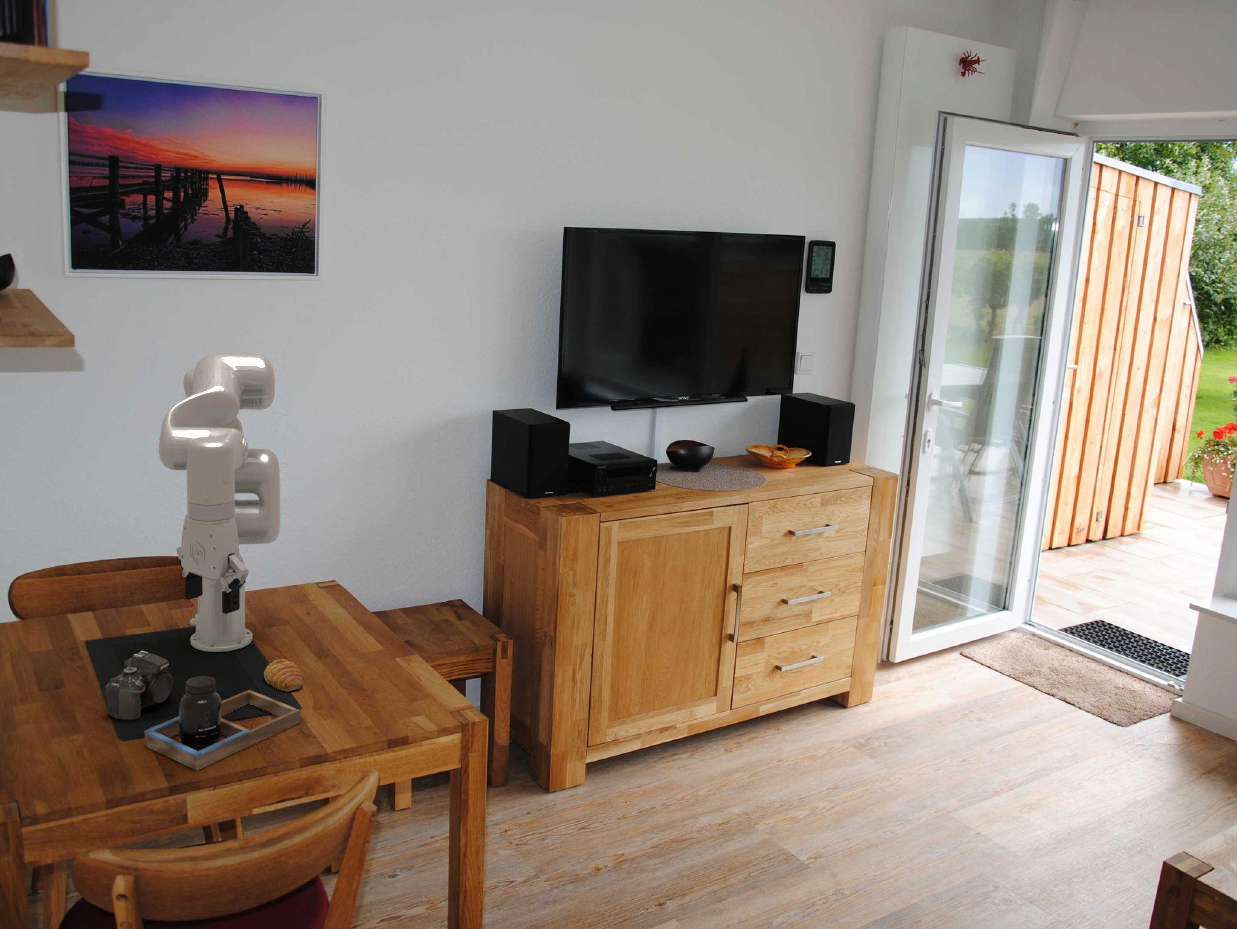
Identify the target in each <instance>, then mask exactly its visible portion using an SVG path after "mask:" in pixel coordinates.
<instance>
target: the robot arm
mask: <svg viewBox="0 0 1237 929" xmlns="http://www.w3.org/2000/svg"><path fill="white" fill-rule="evenodd" d="M275 377H276V376H275V372H274V368H273V365H272V363H271V361H269V360H268V358H267V357H265V356H263V355H259V354H251V353H250V354H249V353H248V354H244V353H243V354H242V353H211V354H207V355H204V356H203V357H201V358H200V359H199V360H198V361H197V363H196V365H195V368H192V369H189V370H187V371H186V372H185V374H184V375H183V380H182V381H183V390H184V393H185V397H186V398H184V399H182V400H180V401H178V403H176V404H174V405H173V406H171V407H170V409H169V410H168V411H167V412H166V413H165V415H164V417H163V420H162V422H161V425H160V426H161V428H160V434H159V435H160V436H159V440H158V455H159V460H160V462H161V463H162V465H163V466H164V467H165V468H167V469H169V470H171V471H186V499H187V500H186V501H187V502H186V505H187V506H186V509H187V510H186V511H187V513H186V514H185V516H184V521H183V524H182V525H183V526H182V532H181V543H180V546H179V547H177V548H176V550H175V551H176V554H177V557H178V560H179V561H178V563H179V566H180V567H181V569H182V572H181V574H182V577H184V598H185V599H186V600H188V601H189V600H192V599H196V598H197V613H196V614H195V615H194V617H192V618H191V619H190V620H189V624H190V625H192V626H195V632H194V633H193V634H192V635H191V636H190V645H191V646H192V647H193V648H194V649H197V650H199V651H203V652H210V653H211V652H212V653H213V652H214V653H218V652H219V653H222V652H231V651H235V650H239V649H242V648H245V647H246V646H248V645H250V644H251V642H252V641H253V632H252V631H251V630H250V629H248V628H246V579H247V578H248V575H249V569H248V567H246V565H245V561H244V559H243V557H242V555H241V554H240V545H259V544H260V545H264V544H265V545H266V544H270V543H274V542H276V540H277V539H278V538H279V534H280V530H281V529H280V528H281V477H280V464H279V459H278V457H277V455H276V454H275V453H274V452H273V451H272V450H269V449H265V448H249V444H248V439H247V438H246V437H245V435H244V433H243V426H242V425H243V424H242V422H241V421H240V419H239V418H238V415H239V412H240V410H249V411H250V410H255V411H256V410H257V411H262V410H267V409H268V408H270V407H271V406H272V404H273V403H274V399H275V393H276V392H275V391H276V387H275V386H276V379H275ZM236 494H254V495H255V496H257V498H258V499H237V498H235V496H236Z"/></svg>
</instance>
